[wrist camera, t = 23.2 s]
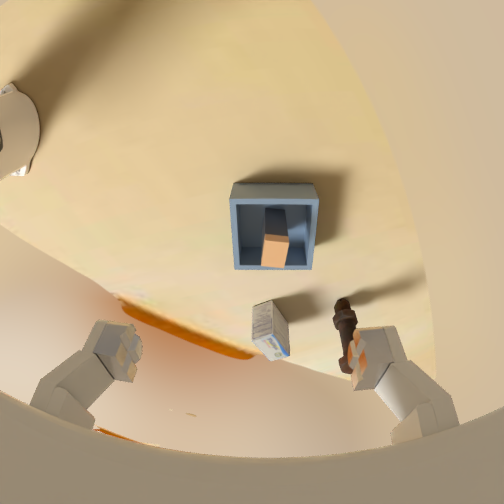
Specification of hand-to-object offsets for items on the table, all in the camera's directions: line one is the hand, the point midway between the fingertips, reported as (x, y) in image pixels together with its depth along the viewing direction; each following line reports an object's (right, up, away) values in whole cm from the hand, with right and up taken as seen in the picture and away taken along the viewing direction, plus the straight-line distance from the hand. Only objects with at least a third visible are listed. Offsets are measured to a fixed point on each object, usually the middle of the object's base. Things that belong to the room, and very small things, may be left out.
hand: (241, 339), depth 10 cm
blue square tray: (+4, +8, +34) cm, 36 cm away
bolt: (+18, -7, +45) cm, 49 cm away
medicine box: (+4, -9, +47) cm, 48 cm away
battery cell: (+4, +8, +34) cm, 35 cm away
